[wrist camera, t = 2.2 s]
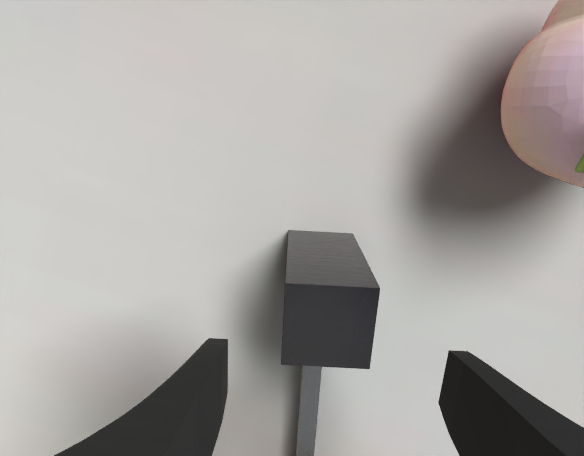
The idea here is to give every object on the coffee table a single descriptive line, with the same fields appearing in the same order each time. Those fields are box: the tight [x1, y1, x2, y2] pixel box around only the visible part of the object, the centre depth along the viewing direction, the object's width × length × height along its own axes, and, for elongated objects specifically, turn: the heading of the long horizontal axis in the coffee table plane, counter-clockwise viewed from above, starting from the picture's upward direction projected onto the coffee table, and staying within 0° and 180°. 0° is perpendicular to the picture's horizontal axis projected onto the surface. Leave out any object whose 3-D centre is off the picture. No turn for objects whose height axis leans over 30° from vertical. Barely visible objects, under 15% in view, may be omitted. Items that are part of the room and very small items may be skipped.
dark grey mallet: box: [281, 230, 380, 456], centre depth 20 cm, size 4×16×7 cm, turn 177°
